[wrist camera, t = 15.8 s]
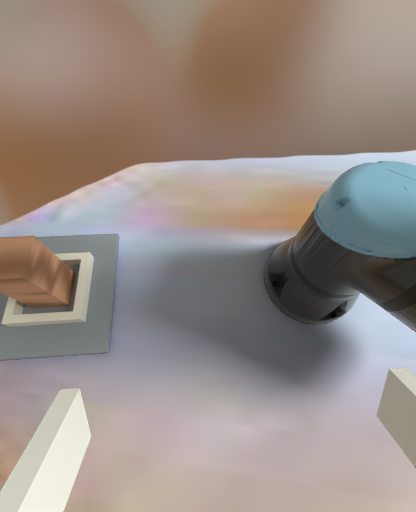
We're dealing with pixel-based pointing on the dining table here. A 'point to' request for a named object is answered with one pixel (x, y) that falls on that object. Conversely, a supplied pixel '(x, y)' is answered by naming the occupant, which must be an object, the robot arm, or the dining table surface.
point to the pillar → (34, 273)
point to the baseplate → (66, 317)
